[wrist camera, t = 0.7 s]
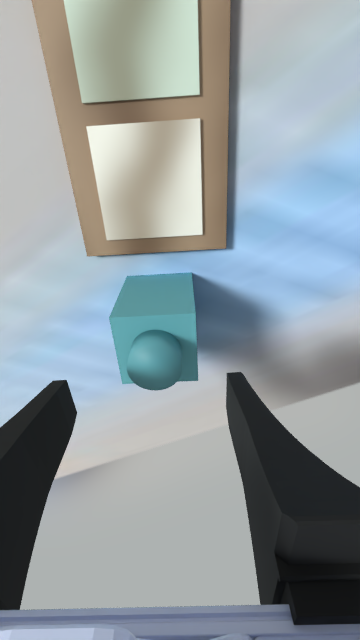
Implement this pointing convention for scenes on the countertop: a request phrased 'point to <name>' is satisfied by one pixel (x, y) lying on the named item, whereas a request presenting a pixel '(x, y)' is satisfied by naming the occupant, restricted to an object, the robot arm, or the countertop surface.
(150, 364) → the pawn
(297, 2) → the countertop surface
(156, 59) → the board
